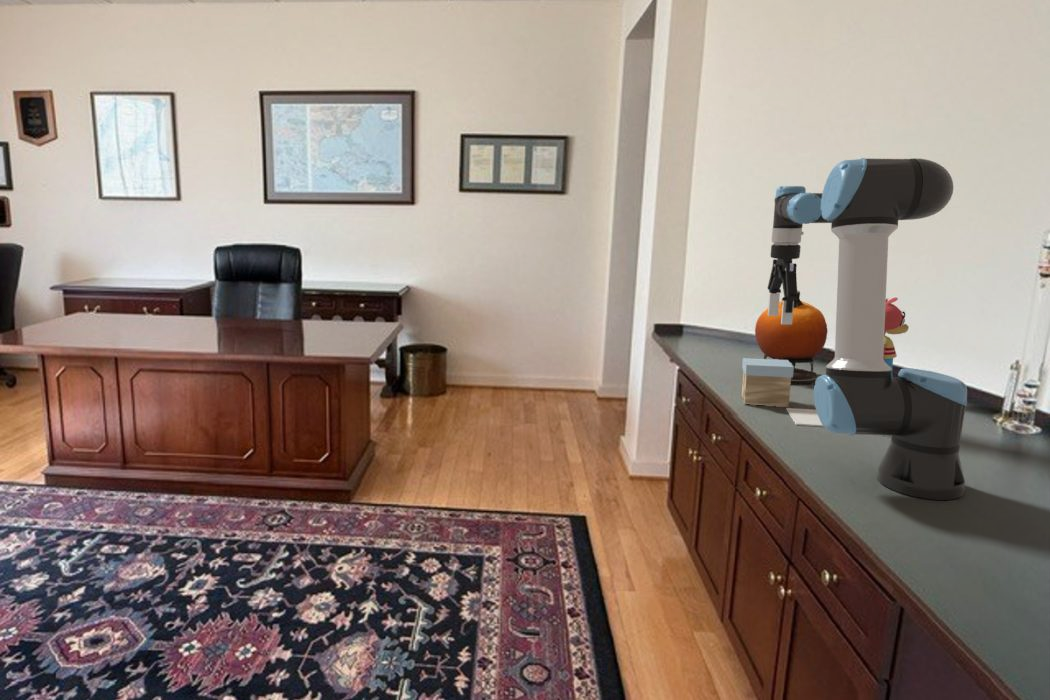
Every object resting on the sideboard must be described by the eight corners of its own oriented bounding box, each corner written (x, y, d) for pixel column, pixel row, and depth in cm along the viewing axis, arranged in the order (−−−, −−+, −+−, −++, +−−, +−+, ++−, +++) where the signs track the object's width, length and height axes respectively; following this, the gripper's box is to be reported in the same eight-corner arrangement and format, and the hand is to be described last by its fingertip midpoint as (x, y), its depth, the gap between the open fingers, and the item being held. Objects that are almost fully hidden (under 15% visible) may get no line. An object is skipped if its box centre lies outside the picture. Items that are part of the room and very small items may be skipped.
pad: (854, 428, 163) (854, 427, 163) (796, 424, 166) (796, 423, 166) (839, 412, 177) (839, 411, 177) (786, 409, 180) (786, 408, 180)
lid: (792, 382, 179) (793, 367, 178) (745, 380, 182) (746, 364, 181) (786, 374, 188) (787, 360, 187) (741, 372, 190) (742, 358, 190)
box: (788, 407, 182) (791, 376, 180) (744, 404, 184) (746, 374, 182) (783, 399, 189) (786, 370, 187) (741, 397, 191) (743, 368, 189)
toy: (909, 403, 185) (922, 300, 179) (871, 401, 187) (883, 299, 181) (891, 389, 199) (903, 294, 193) (856, 388, 201) (867, 293, 195)
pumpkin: (778, 366, 231) (785, 283, 224) (837, 379, 212) (846, 289, 206) (738, 374, 219) (744, 287, 213) (797, 389, 200) (805, 294, 194)
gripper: (815, 247, 163) (807, 328, 168) (786, 241, 187) (780, 312, 192) (785, 246, 164) (778, 327, 169) (760, 241, 188) (754, 312, 193)
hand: (779, 319), depth 180 cm, fingers open, 13 cm apart
